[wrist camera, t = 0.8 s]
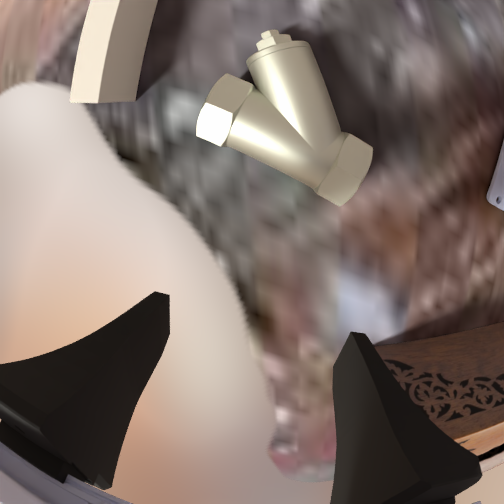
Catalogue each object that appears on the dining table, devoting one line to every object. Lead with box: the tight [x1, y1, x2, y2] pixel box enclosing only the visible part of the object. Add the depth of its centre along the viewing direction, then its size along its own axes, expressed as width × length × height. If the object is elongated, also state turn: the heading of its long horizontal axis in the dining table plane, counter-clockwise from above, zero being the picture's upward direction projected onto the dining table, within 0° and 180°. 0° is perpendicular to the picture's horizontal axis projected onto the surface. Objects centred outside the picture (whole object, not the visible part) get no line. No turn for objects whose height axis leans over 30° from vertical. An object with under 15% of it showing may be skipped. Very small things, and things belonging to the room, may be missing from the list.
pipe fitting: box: [196, 30, 373, 207], centre depth 13 cm, size 8×4×7 cm
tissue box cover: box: [375, 322, 504, 473], centre depth 18 cm, size 26×14×10 cm, turn 99°
